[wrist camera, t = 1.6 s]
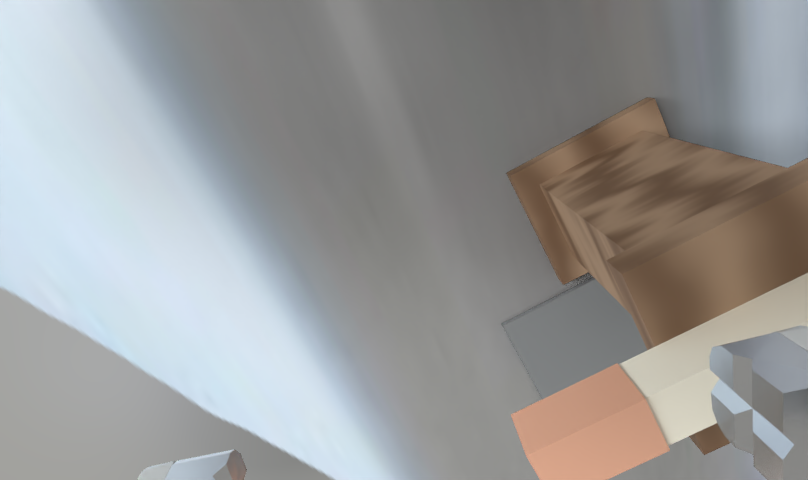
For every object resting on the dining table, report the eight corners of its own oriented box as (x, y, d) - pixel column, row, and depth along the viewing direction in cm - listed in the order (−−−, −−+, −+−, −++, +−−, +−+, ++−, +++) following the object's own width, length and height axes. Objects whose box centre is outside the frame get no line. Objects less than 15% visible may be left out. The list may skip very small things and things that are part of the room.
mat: (546, 406, 60) (547, 408, 59) (501, 323, 57) (502, 326, 56) (742, 311, 57) (745, 313, 57) (706, 219, 54) (709, 221, 54)
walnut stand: (558, 279, 55) (704, 454, 31) (506, 173, 52) (622, 274, 27) (692, 211, 54) (959, 338, 29) (646, 97, 50) (905, 131, 26)
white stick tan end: (536, 459, 30) (553, 503, 27) (510, 414, 29) (526, 455, 26) (980, 249, 28) (1055, 272, 24) (967, 193, 27) (1043, 210, 24)
